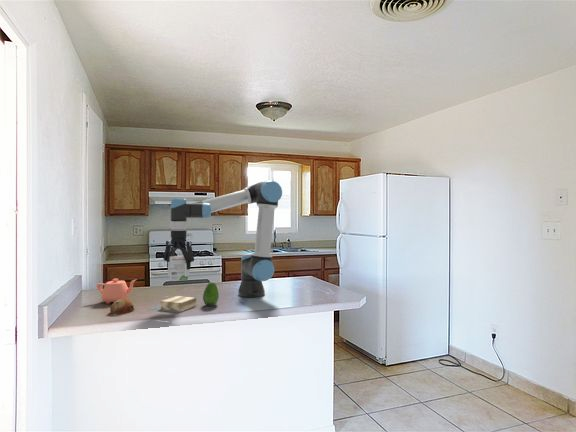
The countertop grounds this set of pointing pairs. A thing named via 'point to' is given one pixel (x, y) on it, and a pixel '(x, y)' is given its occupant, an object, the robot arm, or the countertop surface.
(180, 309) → the maple plinth
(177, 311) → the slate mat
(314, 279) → the countertop surface
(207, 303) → the avocado
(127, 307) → the bread roll
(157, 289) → the countertop surface
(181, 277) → the ink box
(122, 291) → the teapot
